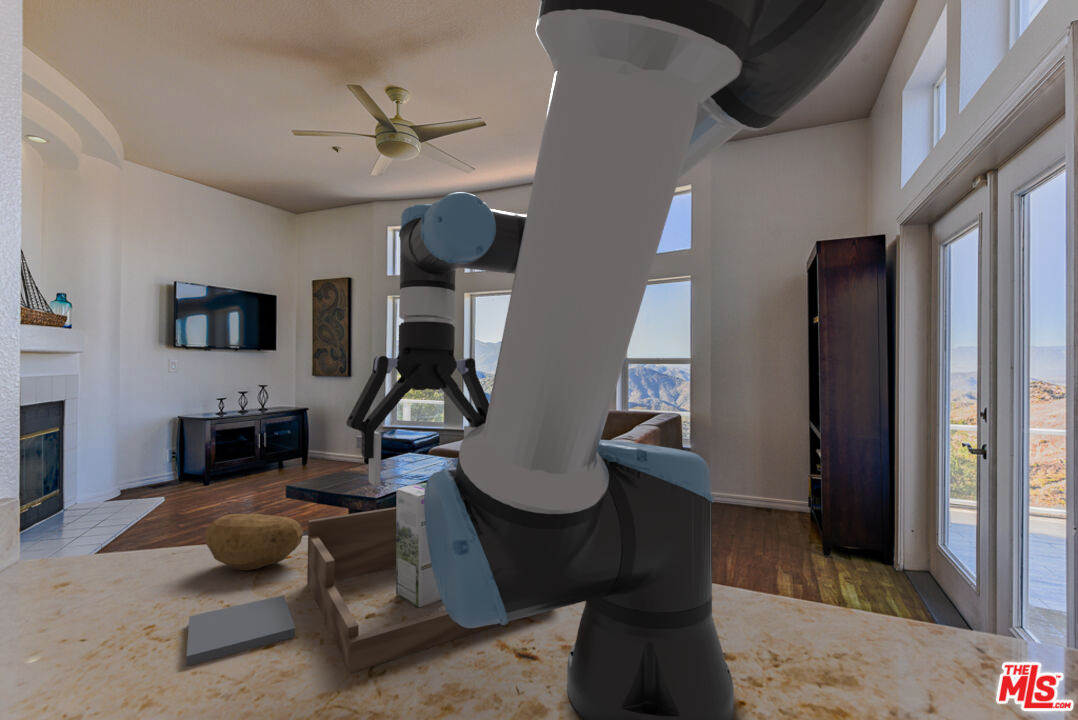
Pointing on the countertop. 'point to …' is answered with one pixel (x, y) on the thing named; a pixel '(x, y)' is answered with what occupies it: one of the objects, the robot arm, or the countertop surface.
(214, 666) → the countertop surface
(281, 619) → the slate mat
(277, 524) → the potato
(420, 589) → the syrup box
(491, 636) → the countertop surface
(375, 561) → the frame
